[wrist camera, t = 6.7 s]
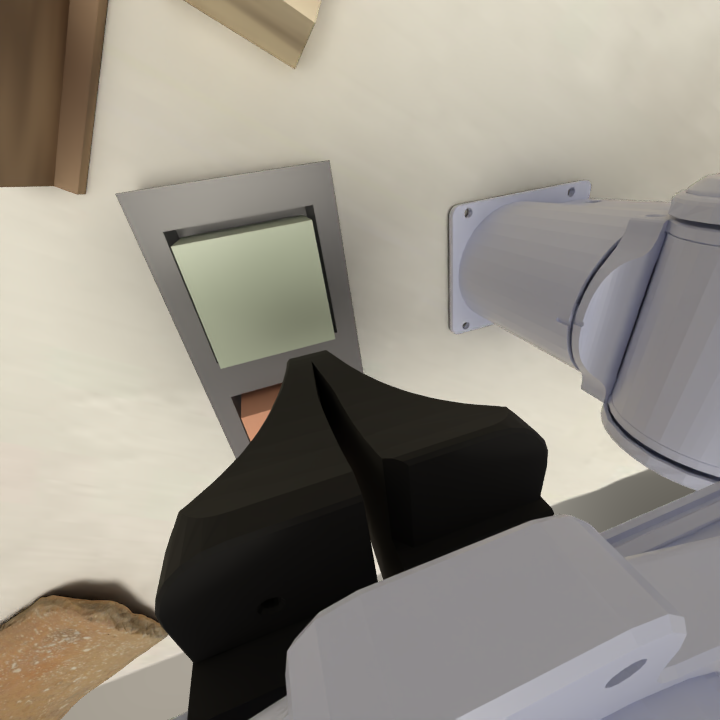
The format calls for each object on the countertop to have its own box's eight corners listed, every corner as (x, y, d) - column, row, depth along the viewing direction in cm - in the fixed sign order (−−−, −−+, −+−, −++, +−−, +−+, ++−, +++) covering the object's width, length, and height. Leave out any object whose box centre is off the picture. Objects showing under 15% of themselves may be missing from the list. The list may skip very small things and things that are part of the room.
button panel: (315, 163, 16) (329, 160, 14) (362, 429, 25) (376, 457, 22) (137, 191, 15) (115, 193, 12) (253, 464, 23) (254, 499, 21)
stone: (-112, 678, 23) (-161, 746, 20) (91, 563, 23) (71, 614, 20) (36, 708, 29) (15, 763, 26) (197, 616, 29) (191, 661, 26)
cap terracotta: (333, 365, 19) (345, 388, 17) (347, 433, 22) (359, 460, 20) (241, 390, 18) (241, 418, 16) (267, 458, 21) (270, 490, 19)
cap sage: (302, 214, 15) (312, 220, 13) (324, 320, 18) (335, 338, 16) (181, 237, 14) (170, 246, 12) (223, 345, 17) (220, 368, 15)
